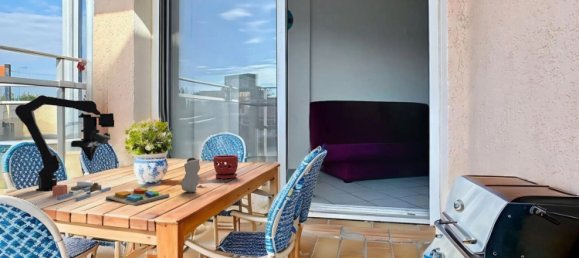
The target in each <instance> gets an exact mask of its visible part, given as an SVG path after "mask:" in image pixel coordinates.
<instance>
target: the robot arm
mask: <svg viewBox="0 0 579 258" xmlns="http://www.w3.org/2000/svg"><path fill="white" fill-rule="evenodd" d="M45 105H49V106H55V107H62V108H69V109H74V110H78V111H82V112H81V114H80V115H79V116H78V118H80V119H81V118H82V129H80V132H81V133H82V135H83V136H82V137H83V138H80V139H76V140H72V141H71V142H70V147H71V148H81V150H82V152H83V153H84V155H85V157H86V159H87V160H88V161H90V162H91V161H93V159H94V156H95V153H96V150H98V148H100V147H101V145H107V144H109V140H111V134H110V133H109V132H105V133H101V131H100V129H98V126H100V128H115V118H114V113H112V112H110V113H102V112H101V111H99V110H98V108H97V103H96V102H94V101H93V100H73V99H65V98H60V97H53V96H47V95H44V94H41V95H39V96H37V97H35V98H34V99H33V100H30V101H28V102H27V103H26V104H19V105H17V106H16V107H15V109H14V114H15V115H16V116H17V117H18V119H19V120H20V122H22V123H23V124H24V126H25V127H26V129H27V131H28V133H29V135H30V136H31V138H32V141H33V142H34V144H35V146H36V148H37V149H38V153H39V154H40V157H41V162H42V165H43V168H41V169H40V170H39V171H38V176H37V177H38V181H37V182H38V188H35V190H36V191H44V192H45V191H53V190H52V187H54V186H56V185H58V178H57V175H56V174H55V173H56V172H57V171H58V170H59V169H60V166H61V161H62V160H61V159H60V158H59V156H58V153H53V152H52V151H51V150H50V147H49V146H48V143H47V141H46V140H45V138H44V136H43V133H42V132H41V130H40V129H41V128H40V127H39V126H38V124H37V121H36V115H35V113H34V112H35V111H36V110H38V109H40V108H41V107H43V106H45ZM86 113H87V114H86ZM91 113H92V114H93V115H94V116H92V114H91ZM97 119H98V121H97ZM99 144H100V145H99Z"/></svg>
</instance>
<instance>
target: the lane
mask: <svg viewBox="0 0 579 258" xmlns="http://www.w3.org/2000/svg"><path fill="white" fill-rule="evenodd" d="M111 190H112V188H111V186H107V187H103V188H101V189H97V191H94V192H90V187H87V188H80V190H75V191H74V190H73V191H68V192H67V194H64V195H61V196H56V200H58V201H61V199H62V200H64V198H65V199H68V198H71V197H74V196H77V197H75V200H74V201H76V202H77V201H81V200H85V199H87V198H91V197H94V196H96V195H99V194H103V193H106V192H109V191H111ZM83 193H85V194H83ZM80 194H83V195H80ZM78 195H79V196H78Z"/></svg>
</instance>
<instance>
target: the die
mask: <svg viewBox="0 0 579 258" xmlns="http://www.w3.org/2000/svg"><path fill="white" fill-rule="evenodd" d="M51 191H52V197H58V196H61V195H64V194H68V185H67V184H57V185H56V186H54V187H52V190H51Z"/></svg>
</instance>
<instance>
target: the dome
mask: <svg viewBox="0 0 579 258" xmlns="http://www.w3.org/2000/svg"><path fill="white" fill-rule="evenodd" d="M93 184H94V181H93V180H89V179H86V180H78V181H76V186H78V187H87V186H91V185H93Z"/></svg>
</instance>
